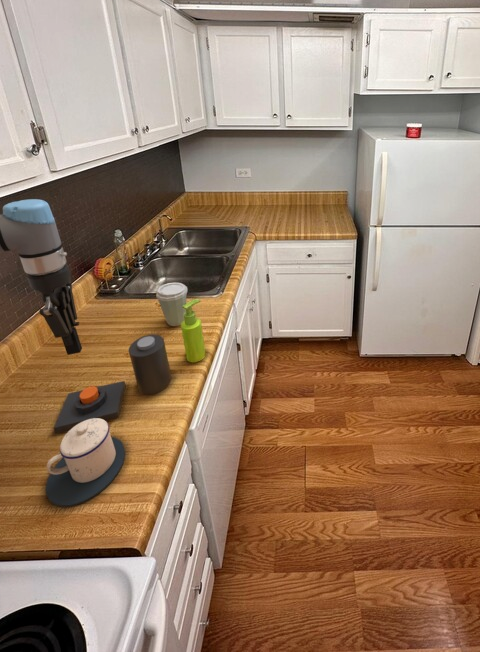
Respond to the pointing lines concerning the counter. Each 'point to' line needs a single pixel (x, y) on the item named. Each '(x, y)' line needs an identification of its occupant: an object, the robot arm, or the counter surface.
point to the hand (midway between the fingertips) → (74, 351)
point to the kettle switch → (89, 395)
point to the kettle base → (91, 407)
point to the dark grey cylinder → (150, 364)
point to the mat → (72, 493)
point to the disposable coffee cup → (172, 302)
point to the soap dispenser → (192, 334)
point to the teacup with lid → (85, 451)
